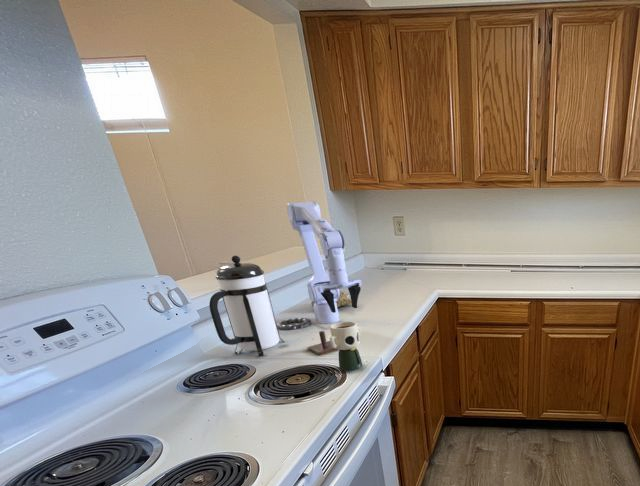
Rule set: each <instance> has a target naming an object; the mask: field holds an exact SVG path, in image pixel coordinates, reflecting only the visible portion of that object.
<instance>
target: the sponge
mask: <svg viewBox="0 0 640 486" xmlns="http://www.w3.org/2000/svg"><path fill="white" fill-rule="evenodd" d="M339 293H340V296H339V298H338V299H337V301H336V303H337V308H340V307H343V306H348V305H350V304H351V305H352V303H351V297H350V293H349V292H345V291H340V290H339ZM310 303H311V307H312V308H313V306H314V304H315V303H313V302H312V301H311V302H310Z"/></svg>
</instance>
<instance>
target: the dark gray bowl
mask: <svg viewBox="0 0 640 486" xmlns="http://www.w3.org/2000/svg"><path fill="white" fill-rule="evenodd" d="M312 323H313V321H312V320H311V319H309V318H306V317H295V318H294V317H293V318H289V319H285V320H281V321H280V322H278V323H276V324H277V326H276V327H277V328H278V331H296V330H301V329H304V328H307V327H309V326H311V325H312Z"/></svg>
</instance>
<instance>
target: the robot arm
mask: <svg viewBox="0 0 640 486" xmlns="http://www.w3.org/2000/svg"><path fill="white" fill-rule="evenodd" d="M286 211H287V216H288V220H289V224H290V225H291V228H292V229H293V230H294V231H297V233H298V235H299V237H300V240H301V242H302V247H303V250H304V252H305V253H304V254H305V255H306V259H307V262H308V266H309V270H310V272H311V275H312V277H311V278H310V279H309V280H308V281H307V284H306V287H307V293H308V297H309V299H310V301H311V302H313V303H315V304H314V306H313V307H312V310H313V315H314V319H315V321H316V322H318V323H320V325H321V324H322V325H332V324H335V323H339V322H341V320H340V315H339V309H338V307H337V303H336V301H337V299H338V298H339V296H340V293H339V291H340V290H341V289H347V290H348V294H350V297H351V307H352V308H354V309H357V308H358V300H359V295H360V293H361V290H362V289H361V287H362V280H361V279H359V278H357V279H349V278H348V272H347V266H346V260H345V255H344V249H345V245H346V244H345V243H346V242H345V237H344V235H343V233H342V231H341V230H340V229H334V228H333V226H331V224H330V223H329V221H328V220H326V219H325V218H322V213H321V208H320V205H319V204H318V203H317V201H302V202H301V201H300V202H299V201H298V202H288V203H287V204H286ZM316 237H317V238H318V241H319V245H320V248H321V250H322V254H323V256H324V258H325V264H326V268H327V273H328V274H327V273H326V269H325V267H324V262H323V259H322V256H321V251H320V250H319V246H318V243H317V239H316Z"/></svg>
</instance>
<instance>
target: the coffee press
mask: <svg viewBox="0 0 640 486" xmlns="http://www.w3.org/2000/svg"><path fill="white" fill-rule="evenodd" d="M231 261H232V264H225V265H222V266H220V267H219V268H218V269H217V271H216V274H215V280H217V283H218V285H219V291H217V292H215V293H214V294H212V295H211V297H210V299H209V311H210V314H211V317H212V318H211V319H212V322H213V325H214V328H215V331H216V334H217V336H218V338H219V340H220V341H221V342H222V343H223V344H226V345H229V346H234V345H237V346H236V347H235V349H234V354H235V355H240V354H241V353H242V351H246V352H257V355H258V357H259V358H260V357H264V356H265V355H264V351H263V350H267V349H270V348H273V347H275V346H276V345H278V344H279V342H280V341H282V342H283V343H285V340H283V339H282V338H281V335H280V332H279V331H280V330H279V329H278V328H277V327H276V326H277V324H278V323H277V320H276V317H275V312H274V309H273V304H272V301H271V296H270V293H269V289H268V286H267V285H268V284H267V282H266V281H265V278H264V276H265V272H264V270H263V269H262V268H261V267H260V266H259V265H258V264H255V263H250V262H242V263H241V258H240V256H238V255H233V256H231ZM221 299H222V301H223V304H224V308H225V310H226V314H227V317H228V321H229V324H230V327H231V330H232V334H233V336H234V338H230V337H228V335H227V334H226V331H225V328H224V325H223V321H222V318H221V314H220V312H219V308H218V306H219V305H218V304H219V301H220V300H221ZM283 347H285V345H284V346H283ZM237 349H240V350H239V352H236V350H237Z"/></svg>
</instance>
